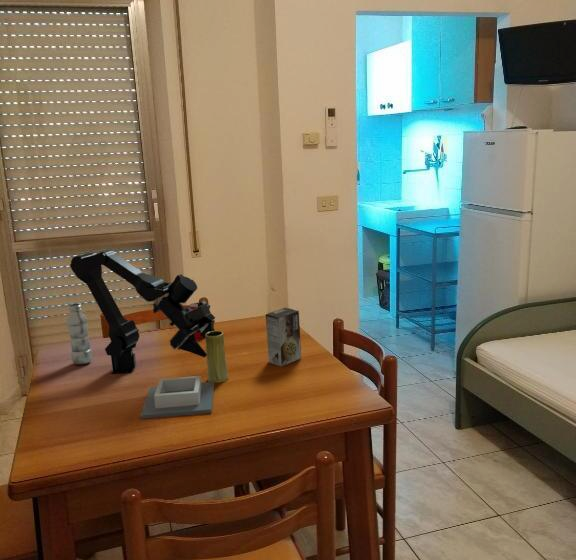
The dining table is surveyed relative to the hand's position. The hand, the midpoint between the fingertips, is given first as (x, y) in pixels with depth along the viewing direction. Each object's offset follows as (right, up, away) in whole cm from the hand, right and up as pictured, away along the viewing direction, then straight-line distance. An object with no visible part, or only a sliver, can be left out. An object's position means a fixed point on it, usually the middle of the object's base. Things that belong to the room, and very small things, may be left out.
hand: (213, 350), depth 163 cm
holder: (-8, -12, -12) cm, 19 cm away
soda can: (-11, 0, +43) cm, 44 cm away
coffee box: (+21, -5, +14) cm, 26 cm away
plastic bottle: (-46, -7, +20) cm, 50 cm away
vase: (+1, -9, +2) cm, 9 cm away
